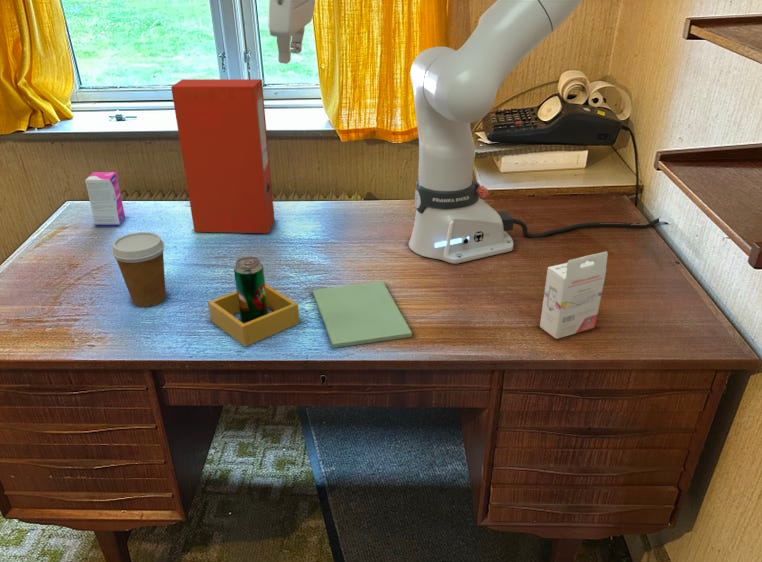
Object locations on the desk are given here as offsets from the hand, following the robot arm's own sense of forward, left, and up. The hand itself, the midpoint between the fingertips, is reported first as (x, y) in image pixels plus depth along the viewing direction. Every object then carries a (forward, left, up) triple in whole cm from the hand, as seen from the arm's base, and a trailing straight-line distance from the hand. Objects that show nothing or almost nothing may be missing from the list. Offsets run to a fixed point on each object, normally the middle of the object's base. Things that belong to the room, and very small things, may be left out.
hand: (290, 57), depth 118 cm
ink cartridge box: (-41, +36, -40) cm, 68 cm away
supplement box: (+41, -36, -40) cm, 68 cm away
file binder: (+12, -25, -40) cm, 49 cm away
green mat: (-7, +22, -40) cm, 47 cm away
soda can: (+12, +20, -40) cm, 47 cm away
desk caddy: (+12, +20, -40) cm, 47 cm away
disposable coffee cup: (+31, +6, -40) cm, 52 cm away
